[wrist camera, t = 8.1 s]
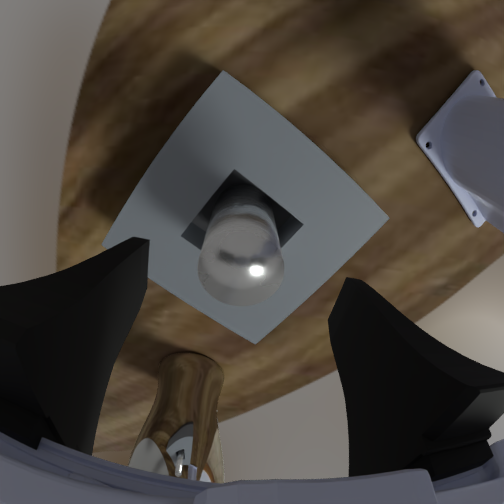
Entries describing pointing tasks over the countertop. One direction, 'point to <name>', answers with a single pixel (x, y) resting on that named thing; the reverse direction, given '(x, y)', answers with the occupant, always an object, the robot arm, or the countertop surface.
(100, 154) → the countertop surface
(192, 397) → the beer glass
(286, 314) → the hole block
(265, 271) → the peg
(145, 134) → the countertop surface
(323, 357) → the countertop surface
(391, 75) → the countertop surface
